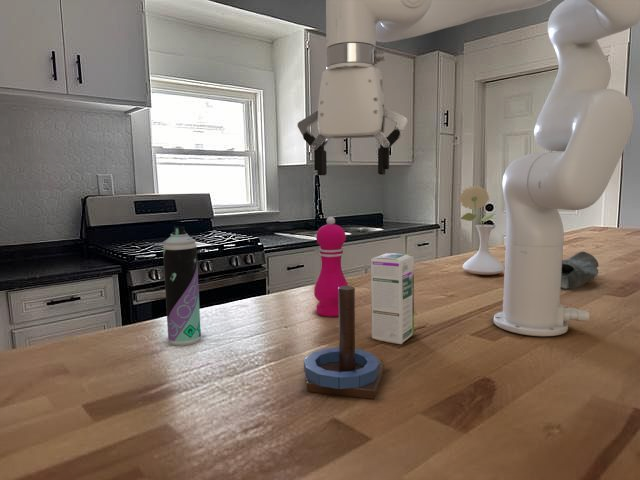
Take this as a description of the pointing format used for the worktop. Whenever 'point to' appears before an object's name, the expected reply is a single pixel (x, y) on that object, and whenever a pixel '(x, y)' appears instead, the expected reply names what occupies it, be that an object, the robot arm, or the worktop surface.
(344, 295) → the stand
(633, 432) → the worktop surface
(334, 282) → the pepper mill
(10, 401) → the worktop surface
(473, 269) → the flower in vase
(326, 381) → the ring
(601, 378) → the worktop surface
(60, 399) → the worktop surface
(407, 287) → the syrup box
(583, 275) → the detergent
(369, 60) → the robot arm
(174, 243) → the spray can
